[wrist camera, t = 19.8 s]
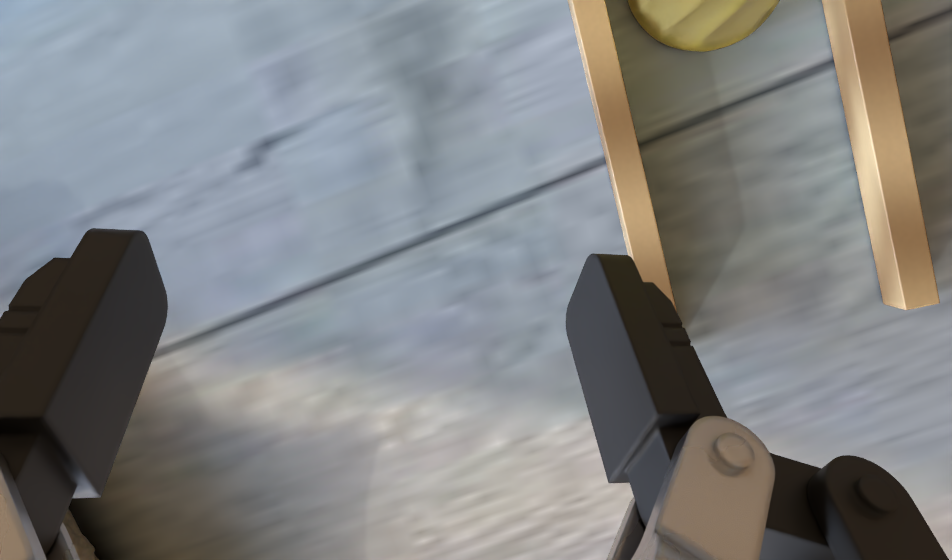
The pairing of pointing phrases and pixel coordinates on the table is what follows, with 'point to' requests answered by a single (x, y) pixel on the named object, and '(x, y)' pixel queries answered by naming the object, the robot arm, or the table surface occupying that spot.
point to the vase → (701, 21)
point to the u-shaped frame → (870, 130)
